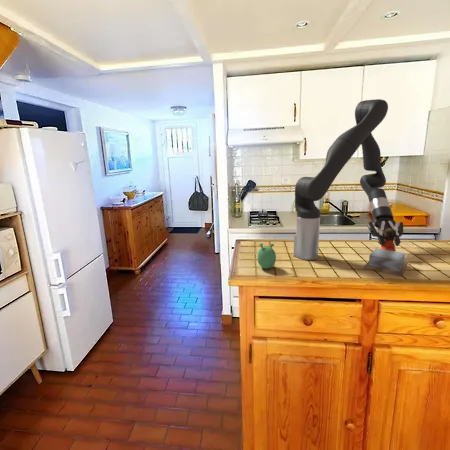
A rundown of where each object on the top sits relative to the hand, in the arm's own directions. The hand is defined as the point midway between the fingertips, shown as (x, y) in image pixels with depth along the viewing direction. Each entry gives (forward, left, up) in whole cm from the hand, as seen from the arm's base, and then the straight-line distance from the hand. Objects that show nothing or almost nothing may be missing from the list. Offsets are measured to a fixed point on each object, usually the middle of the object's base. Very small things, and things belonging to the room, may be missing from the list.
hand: (390, 244), depth 116 cm
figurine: (-1, +2, -6) cm, 6 cm away
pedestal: (+1, -11, -6) cm, 13 cm away
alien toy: (-35, -38, -6) cm, 52 cm away
